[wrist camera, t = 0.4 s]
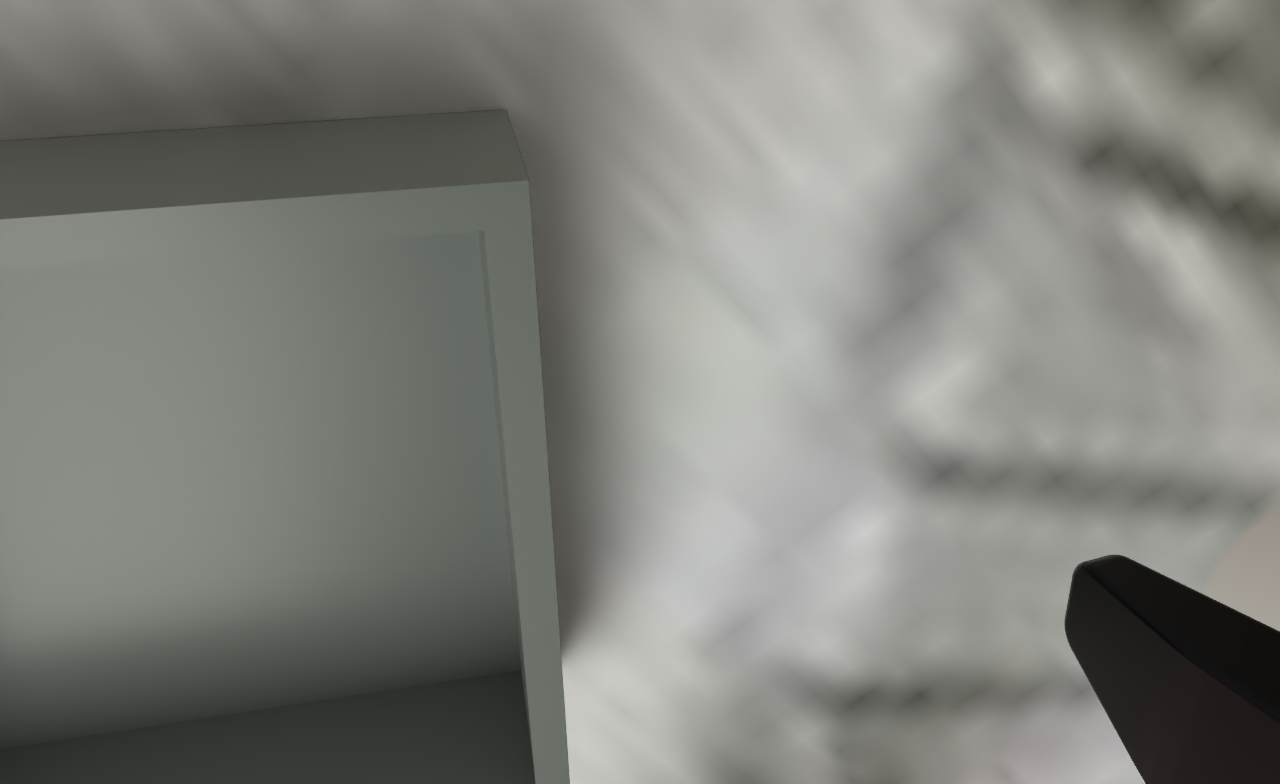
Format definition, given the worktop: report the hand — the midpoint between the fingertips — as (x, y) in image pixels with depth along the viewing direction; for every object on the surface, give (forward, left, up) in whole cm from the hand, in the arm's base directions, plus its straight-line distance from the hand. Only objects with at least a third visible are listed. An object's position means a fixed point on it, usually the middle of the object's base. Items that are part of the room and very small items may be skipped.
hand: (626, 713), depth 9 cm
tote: (-6, +8, -14) cm, 17 cm away
